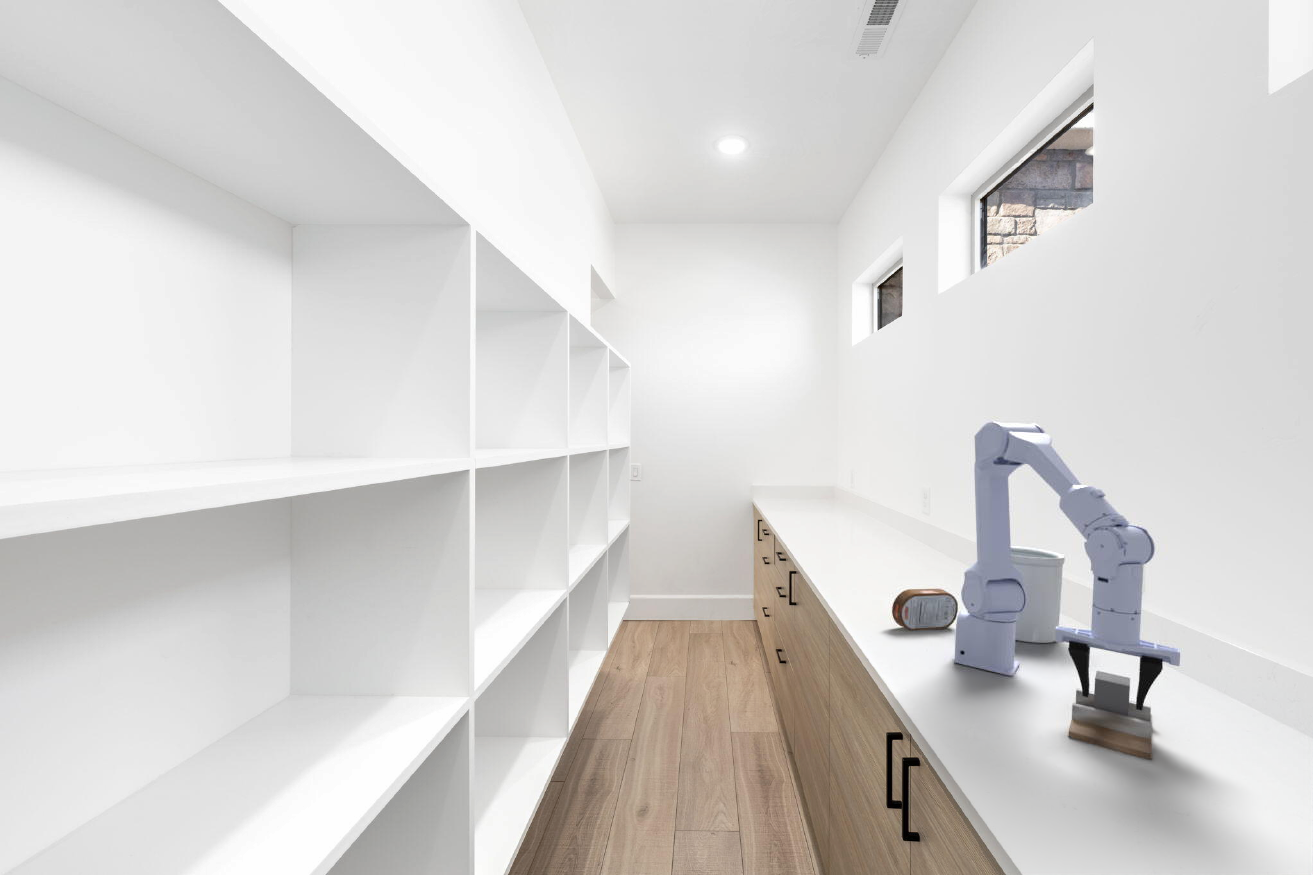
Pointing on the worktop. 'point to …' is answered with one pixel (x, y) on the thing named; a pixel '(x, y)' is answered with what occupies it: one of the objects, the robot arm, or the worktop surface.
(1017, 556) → the utensil holder
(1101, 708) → the grey rectangular block
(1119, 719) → the end holder
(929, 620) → the tin
